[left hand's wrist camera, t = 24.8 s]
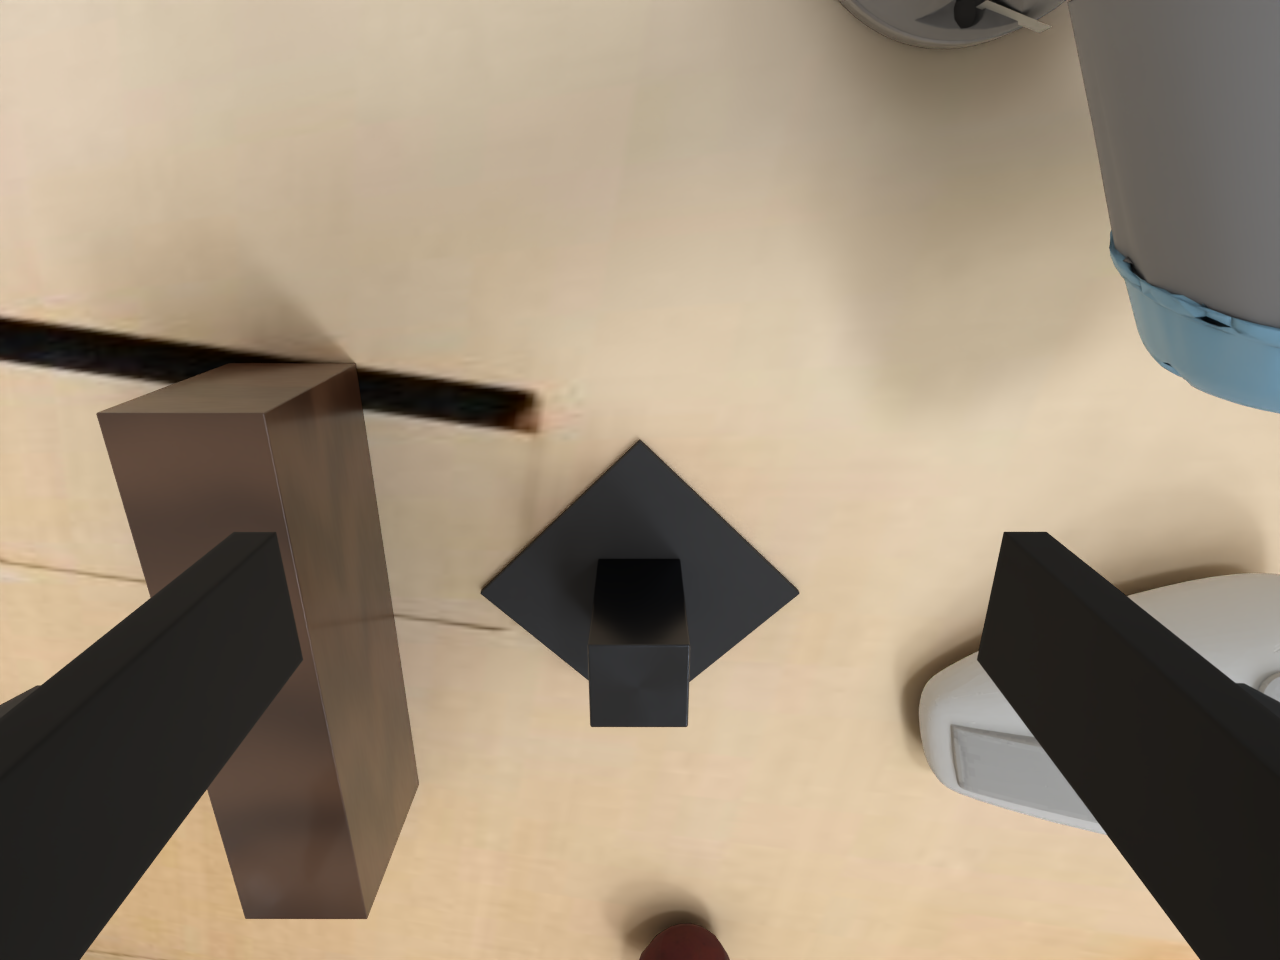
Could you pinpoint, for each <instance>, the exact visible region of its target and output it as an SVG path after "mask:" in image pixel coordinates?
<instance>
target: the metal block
mask: <svg viewBox="0 0 1280 960" xmlns="http://www.w3.org/2000/svg"><path fill="white" fill-rule="evenodd" d="M588 671H589V701H590V725H591V727H687V726H688V704H689V672H690V639H689V630H688V621H687V613H686V604H685V595H684V587H683V578H682V569H681V560H680V559H598V564H597V572H596V580H595V589H594V597H593V605H592V614H591V622H590V630H589V639H588Z"/></svg>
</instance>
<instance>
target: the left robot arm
mask: <svg viewBox="0 0 1280 960" xmlns="http://www.w3.org/2000/svg"><path fill="white" fill-rule="evenodd" d="M839 1H840V2H841V4H842V5H843V6H844V7H845V8H846V9H847V10H848V11H849V12H851V13H852V14H853V15H854V16H855V17H856V18H857V19H859V20H860V21H861V22H863V23H864V24H865V25H867V26H868V27H870V28H871V29H873V30H875V31H876V32H878V33H880V34H882V35H884V36H886V37H888V38H891V39H893V40H895V41H898V42H902V43H905V44H908V45H912V46H918V47H923V48H934V49H951V48H962V47H968V46H974V45H978V44H981V43H985V42H988V41H992V40H994V39H997V38H999V37H1002V36H1005V35H1007V34H1009V33H1011V32H1013V31H1016V30H1018V29H1020V28H1022V27H1025V28H1028V29H1030V30H1033V31H1035V32H1038V33H1040V32H1042V31H1045V30H1047V29H1049V28H1051V27H1052V26H1050V25H1047V24H1045V23H1042V22H1040V21H1037V20H1038V19H1039V18H1041V17H1042V16H1044V15H1046V14H1047V13H1049V12H1050V11H1052V10H1054V9H1055V8H1056V7H1058V6H1059V5H1060V4H1062V3H1063V2H1064V1H1066V0H839ZM1068 7H1069V12H1070V17H1071V22H1072V26H1073V31H1074V36H1075V41H1076V46H1077V51H1078V56H1079V61H1080V66H1081V71H1082V76H1083V80H1084V85H1085V90H1086V95H1087V100H1088V105H1089V110H1090V115H1091V120H1092V125H1093V130H1094V135H1095V141H1096V146H1097V152H1098V157H1099V163H1100V168H1101V174H1102V179H1103V185H1104V190H1105V196H1106V201H1107V207H1108V212H1109V218H1110V223H1111V229H1112V230H1111V232H1110V247H1109V249H1110V256H1111V258H1112V261H1113V263H1114V265H1115V267H1116V269H1117V270H1118V272H1119V273H1120V275H1121V276H1122V277H1123V278H1124V279H1125V283H1126V286H1127V290H1128V294H1129V298H1130V302H1131V306H1132V310H1133V313H1134V317H1135V321H1136V325H1137V329H1138V332H1139V335H1140V337H1141V340H1142V342H1143V344H1144V346H1145V347H1146V349H1147V350H1148V352H1149V353H1150V355H1151V356H1152V357H1153V358H1154V359H1155V360H1156V361H1157V362H1158V363H1159V364H1160V365H1161V366H1162V367H1164V368H1165V369H1167V370H1168V371H1170V372H1172V373H1174V374H1175V375H1177V376H1180V377H1183V379H1185V380H1186V381H1187V382H1188V383H1189V384H1190V385H1191V386H1193V387H1195V388H1197V389H1199V390H1201V391H1203V392H1205V393H1208V394H1210V395H1213V396H1216V397H1219V398H1222V399H1224V400H1227V401H1230V402H1233V403H1237V404H1240V405H1244V406H1248V407H1252V408H1256V409H1260V410H1265V411H1270V412H1275V413H1280V0H1071V1H1069V2H1068ZM302 661H303V656H302V652H301V647H300V642H299V638H298V633H297V628H296V623H295V619H294V614H293V609H292V605H291V600H290V595H289V590H288V586H287V581H286V576H285V572H284V567H283V562H282V557H281V553H280V548H279V543H278V538H277V534H276V532H233V533H232V534H230V535H229V536H228V537H227V538H225V539H224V540H223V541H222V542H220V543H219V544H218V545H217V546H215V547H214V548H213V549H212V550H210V551H209V552H208V553H207V554H205V555H204V556H203V557H202V558H200V559H199V560H198V561H197V562H195V563H194V564H193V565H192V566H190V567H189V568H188V569H187V570H185V571H184V572H183V573H182V574H180V575H179V576H178V577H177V578H175V579H174V580H173V581H172V582H170V583H169V584H168V585H167V586H165V587H164V588H163V589H161V590H160V591H159V592H158V593H156V594H155V595H154V596H153V597H151V598H150V599H149V600H148V601H146V602H145V603H144V604H143V605H141V606H140V607H139V608H138V609H136V610H135V611H134V612H133V613H131V614H130V615H129V616H128V617H126V618H125V619H124V620H123V621H121V622H120V623H119V624H118V625H116V626H115V627H114V628H113V629H111V630H110V631H109V632H108V633H106V634H105V635H104V636H103V637H101V638H100V639H99V640H98V641H96V642H95V643H94V644H93V645H91V646H90V647H89V648H88V649H86V650H85V651H84V652H83V653H81V654H80V655H79V656H78V657H76V658H75V659H74V660H72V661H71V662H70V663H69V664H67V665H66V666H65V667H64V668H62V669H61V670H60V671H59V672H57V673H56V674H55V675H54V676H52V677H51V678H50V679H49V680H47V681H46V682H45V683H44V684H42V685H41V686H35V687H33V688H31V689H30V690H28V691H26V692H24V693H22V694H20V695H18V696H16V697H15V698H13V699H11V700H9V701H7V702H5V703H3V704H1V705H0V960H80V959H81V957H82V956H83V955H84V953H85V952H86V951H87V949H88V948H89V947H90V945H91V944H92V943H93V941H94V940H95V939H96V937H97V936H98V935H99V933H100V932H101V931H102V929H103V928H104V926H105V925H106V924H107V922H108V921H109V920H110V918H111V917H112V916H113V914H114V913H115V912H116V910H117V909H118V908H119V906H120V905H121V904H122V902H123V901H124V900H125V898H126V897H127V896H128V894H129V893H130V892H131V890H132V889H133V888H134V886H135V885H136V884H137V882H138V881H139V880H140V878H141V877H142V875H143V874H144V873H145V871H146V870H147V869H148V867H149V866H150V865H151V863H152V862H153V861H154V859H155V858H156V857H157V855H158V854H159V853H160V851H161V850H162V849H163V847H164V846H165V845H166V843H167V842H168V841H169V839H170V838H171V837H172V835H173V834H174V833H175V831H176V830H177V829H178V827H179V826H180V824H181V823H182V822H183V820H184V819H185V818H186V816H187V815H188V814H189V812H190V811H191V810H192V808H193V807H194V806H195V804H196V803H197V802H198V800H199V799H200V798H201V796H202V795H203V794H204V792H205V791H206V790H207V788H208V787H209V786H210V784H211V783H212V782H213V780H214V779H215V778H216V776H217V775H218V773H219V772H220V771H221V769H222V768H223V767H224V765H225V764H226V763H227V761H228V760H229V759H230V757H231V756H232V755H233V753H234V752H235V751H236V749H237V748H238V747H239V745H240V744H241V743H242V741H243V740H244V739H245V737H246V736H247V735H248V733H249V732H250V731H251V729H252V728H253V727H254V725H255V724H256V722H257V721H258V720H259V718H260V717H261V716H262V714H263V713H264V712H265V710H266V709H267V708H268V706H269V705H270V704H271V702H272V701H273V700H274V698H275V697H276V696H277V694H278V693H279V692H280V690H281V689H282V688H283V686H284V685H285V684H286V682H287V681H288V680H289V678H290V677H291V676H292V674H293V673H294V671H295V670H296V669H297V667H298V666H299V665H300V663H301V662H302ZM977 661H978V662H979V663H980V665H981V666H982V667H983V669H984V670H985V671H986V673H987V674H988V676H989V677H990V678H991V680H992V681H993V682H994V684H995V685H996V686H997V688H998V689H999V690H1000V692H1001V693H1002V694H1003V696H1004V697H1005V698H1006V700H1007V701H1008V702H1009V704H1010V705H1011V706H1012V708H1013V709H1014V710H1015V712H1016V713H1017V714H1018V716H1019V717H1020V718H1021V720H1022V721H1023V722H1024V724H1025V725H1026V727H1027V728H1028V729H1029V731H1030V732H1031V733H1032V735H1033V736H1034V737H1035V739H1036V740H1037V741H1038V743H1039V744H1040V745H1041V747H1042V748H1043V749H1044V751H1045V752H1046V753H1047V755H1048V756H1049V757H1050V759H1051V760H1052V761H1053V763H1054V764H1055V765H1056V767H1057V768H1058V769H1059V771H1060V772H1061V773H1062V775H1063V776H1064V778H1065V779H1066V780H1067V782H1068V783H1069V784H1070V786H1071V787H1072V788H1073V790H1074V791H1075V792H1076V794H1077V795H1078V796H1079V798H1080V799H1081V800H1082V802H1083V803H1084V804H1085V806H1086V807H1087V808H1088V810H1089V811H1090V812H1091V814H1092V815H1093V816H1094V818H1095V819H1096V820H1097V822H1098V823H1099V824H1100V826H1101V827H1102V829H1103V830H1104V831H1105V833H1106V834H1107V835H1108V837H1109V838H1110V839H1111V841H1112V842H1113V843H1114V845H1115V846H1116V847H1117V849H1118V850H1119V851H1120V853H1121V854H1122V855H1123V857H1124V858H1125V859H1126V861H1127V862H1128V863H1129V865H1130V866H1131V867H1132V869H1133V870H1134V871H1135V873H1136V874H1137V875H1138V877H1139V878H1140V880H1141V881H1142V882H1143V884H1144V885H1145V886H1146V888H1147V889H1148V890H1149V892H1150V893H1151V894H1152V896H1153V897H1154V898H1155V900H1156V901H1157V902H1158V904H1159V905H1160V906H1161V908H1162V909H1163V910H1164V912H1165V913H1166V914H1167V916H1168V917H1169V918H1170V920H1171V921H1172V922H1173V924H1174V925H1175V926H1176V928H1177V929H1178V931H1179V932H1180V933H1181V935H1182V936H1183V937H1184V939H1185V940H1186V941H1187V943H1188V944H1189V945H1190V947H1191V948H1192V949H1193V951H1194V952H1195V953H1196V955H1197V956H1198V957H1199V959H1200V960H1280V702H1279V701H1277V700H1275V699H1273V698H1271V697H1269V696H1267V695H1266V694H1264V693H1262V692H1260V691H1258V690H1256V689H1254V688H1252V687H1250V686H1248V685H1247V684H1245V683H1235V682H1234V681H1233V680H1231V679H1230V678H1229V677H1228V676H1226V675H1225V674H1224V673H1223V672H1221V671H1220V670H1219V669H1218V668H1216V667H1215V666H1214V665H1213V664H1211V663H1210V662H1209V661H1208V660H1206V659H1205V658H1204V657H1202V656H1201V655H1200V654H1199V653H1197V652H1196V651H1195V650H1194V649H1192V648H1191V647H1190V646H1189V645H1187V644H1186V643H1185V642H1184V641H1182V640H1181V639H1180V638H1179V637H1177V636H1176V635H1175V634H1174V633H1172V632H1171V631H1170V630H1169V629H1167V628H1166V627H1165V626H1164V625H1162V624H1161V623H1160V622H1159V621H1157V620H1156V619H1155V618H1154V617H1152V616H1151V615H1150V614H1149V613H1147V612H1146V611H1145V610H1144V609H1142V608H1141V607H1140V606H1139V605H1137V604H1136V603H1135V602H1134V601H1132V600H1131V599H1130V598H1129V597H1127V596H1126V595H1125V594H1124V593H1122V592H1121V591H1120V590H1119V589H1117V588H1116V587H1115V586H1113V585H1112V584H1111V583H1110V582H1108V581H1107V580H1106V579H1105V578H1103V577H1102V576H1101V575H1100V574H1098V573H1097V572H1096V571H1095V570H1093V569H1092V568H1091V567H1090V566H1088V565H1087V564H1086V563H1085V562H1083V561H1082V560H1081V559H1080V558H1078V557H1077V556H1076V555H1075V554H1073V553H1072V552H1071V551H1070V550H1068V549H1067V548H1066V547H1065V546H1063V545H1062V544H1061V543H1060V542H1058V541H1057V540H1056V539H1055V538H1053V537H1052V536H1051V535H1050V534H1048V533H1047V532H1004V534H1003V538H1002V543H1001V548H1000V553H999V557H998V562H997V567H996V572H995V576H994V581H993V586H992V590H991V595H990V600H989V605H988V609H987V614H986V619H985V623H984V628H983V633H982V638H981V642H980V647H979V652H978V656H977Z"/></svg>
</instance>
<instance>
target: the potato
mask: <svg viewBox="0 0 1280 960" xmlns="http://www.w3.org/2000/svg"><path fill="white" fill-rule="evenodd" d="M639 960H730V959H729V957H728V954H727V953H726V951H725V950H724V948H723V946H722V945H721V943H720V942H719V941H718V939H717V938H716V936H715V935H713V934H712V933H711V932H710V931H708V930H706V929H705V928H703V927H702V926H699V925H695V924H691V923H687V924H678V925H674V926H671V927H669V928H667V929H666V930H664V931H662V932H661V933H659V934H658V935H656V937H655V938H654V939H653V940H652V942H651V943H650V944H649V945H648V947H647V948H646V949H645V950H644V951H643V952H642V954H641V957H640V959H639Z"/></svg>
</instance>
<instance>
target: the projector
mask: <svg viewBox="0 0 1280 960" xmlns="http://www.w3.org/2000/svg"><path fill="white" fill-rule="evenodd" d="M1127 597H1129V598H1130V599H1131V600H1132V601H1134V602H1135V603H1136V604H1137V605H1139V606H1140V607H1141V608H1142V609H1144V610H1145V611H1146V612H1147V613H1149V614H1150V615H1151V616H1152V617H1154V618H1155V619H1156V620H1157V621H1159V622H1160V623H1161V624H1162V625H1164V626H1165V627H1166V628H1167V629H1169V630H1170V631H1171V632H1172V633H1174V634H1175V635H1176V636H1177V637H1179V638H1180V639H1181V640H1182V641H1184V642H1185V643H1186V644H1187V645H1189V646H1190V647H1191V648H1192V649H1194V650H1195V651H1196V652H1197V653H1199V654H1200V655H1201V656H1202V657H1204V658H1205V659H1206V660H1208V661H1209V662H1210V663H1211V664H1213V665H1214V666H1215V667H1216V668H1218V669H1219V670H1220V671H1221V672H1223V673H1224V674H1225V675H1226V676H1228V677H1229V678H1230V679H1231V680H1233V681H1234V682H1235V683H1245V684H1247V685H1248V686H1250V687H1252V688H1254V689H1256V690H1258V691H1260V692H1262V693H1264V694H1266V695H1267V696H1269V697H1271V698H1273V699H1275V700H1277V701H1279V702H1280V575H1279V574H1267V573H1244V574H1231V575H1223V576H1215V577H1208V578H1203V579H1197V580H1192V581H1187V582H1182V583H1177V584H1173V585H1168V586H1164V587H1160V588H1156V589H1152V590H1148V591H1144V592H1140V593H1136V594H1132V595H1128V596H1127ZM978 652H979V651H977V652H975V653H973V654H971V655H969V656H967V657H965V658H963V659H961V660H959V661H957V662H956V663H954V664H952V665H950V666H948V667H946V668H945V669H943V670H942V671H940V672H939V673H937V674H936V675H934V676H933V677H932V678H931V679H930V680H929V681H928V682H927V684H926V685H925V687H924V689H923V692H922V694H921V699H920V705H919V724H920V733H921V740H922V745H923V750H924V754H925V757H926V759H927V762H928V764H929V766H930V768H931V770H932V771H933V773H934V774H935V775H936V777H937V778H938V779H939V781H940V782H941V783H942V784H944V785H945V786H946V787H948V788H949V789H951V790H953V791H955V792H958V793H960V794H962V795H965V796H968V797H971V798H974V799H976V800H979V801H982V802H986V803H989V804H992V805H995V806H998V807H1002V808H1005V809H1008V810H1012V811H1015V812H1019V813H1022V814H1026V815H1029V816H1033V817H1036V818H1040V819H1044V820H1047V821H1051V822H1055V823H1059V824H1063V825H1067V826H1071V827H1075V828H1079V829H1084V830H1088V831H1092V832H1096V833H1100V834H1105V835H1107V834H1106V833H1105V831H1104V830H1103V829H1102V827H1101V826H1100V824H1099V823H1098V822H1097V820H1096V819H1095V818H1094V816H1093V815H1092V814H1091V812H1090V811H1089V810H1088V808H1087V807H1086V806H1085V804H1084V803H1083V802H1082V800H1081V799H1080V798H1079V796H1078V795H1077V794H1076V792H1075V791H1074V790H1073V788H1072V787H1071V786H1070V784H1069V783H1068V782H1067V780H1066V779H1065V778H1064V776H1063V775H1062V773H1061V772H1060V771H1059V769H1058V768H1057V767H1056V765H1055V764H1054V763H1053V761H1052V760H1051V759H1050V757H1049V756H1048V755H1047V753H1046V752H1045V751H1044V749H1043V748H1042V747H1041V745H1040V744H1039V743H1038V741H1037V740H1036V739H1035V737H1034V736H1033V735H1032V733H1031V732H1030V731H1029V729H1028V728H1027V727H1026V725H1025V724H1024V722H1023V721H1022V720H1021V718H1020V717H1019V716H1018V714H1017V713H1016V712H1015V710H1014V709H1013V708H1012V706H1011V705H1010V704H1009V702H1008V701H1007V700H1006V698H1005V697H1004V696H1003V694H1002V693H1001V692H1000V690H999V689H998V688H997V686H996V685H995V684H994V682H993V681H992V680H991V678H990V677H989V676H988V674H987V673H986V671H985V670H984V669H983V667H982V666H981V665H980V663H979V662H978V661H977V656H978Z"/></svg>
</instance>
